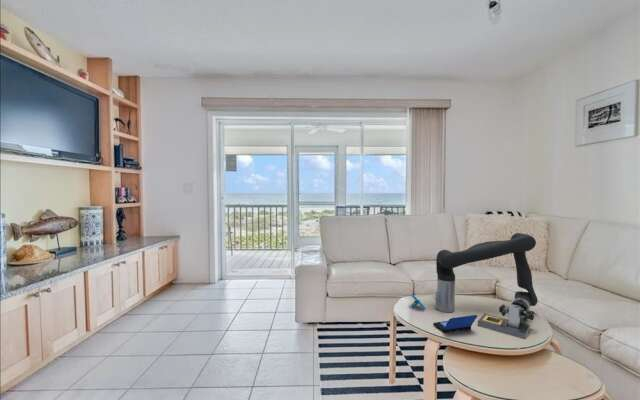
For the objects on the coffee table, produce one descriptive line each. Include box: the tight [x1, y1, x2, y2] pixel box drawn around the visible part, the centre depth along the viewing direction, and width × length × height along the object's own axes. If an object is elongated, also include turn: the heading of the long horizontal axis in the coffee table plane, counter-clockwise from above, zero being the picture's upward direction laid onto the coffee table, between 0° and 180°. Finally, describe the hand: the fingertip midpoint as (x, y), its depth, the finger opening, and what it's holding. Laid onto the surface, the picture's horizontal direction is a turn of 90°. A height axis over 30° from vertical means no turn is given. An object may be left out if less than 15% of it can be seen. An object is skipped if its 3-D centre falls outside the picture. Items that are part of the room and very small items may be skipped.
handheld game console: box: [432, 314, 478, 334], centre depth 152 cm, size 16×13×9 cm
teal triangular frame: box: [410, 294, 426, 310], centre depth 178 cm, size 11×6×10 cm
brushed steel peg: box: [508, 303, 521, 329], centre depth 150 cm, size 4×4×12 cm
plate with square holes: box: [477, 313, 531, 340], centre depth 154 cm, size 20×12×3 cm, turn 48°
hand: (513, 316), depth 149 cm, fingers open, 8 cm apart
